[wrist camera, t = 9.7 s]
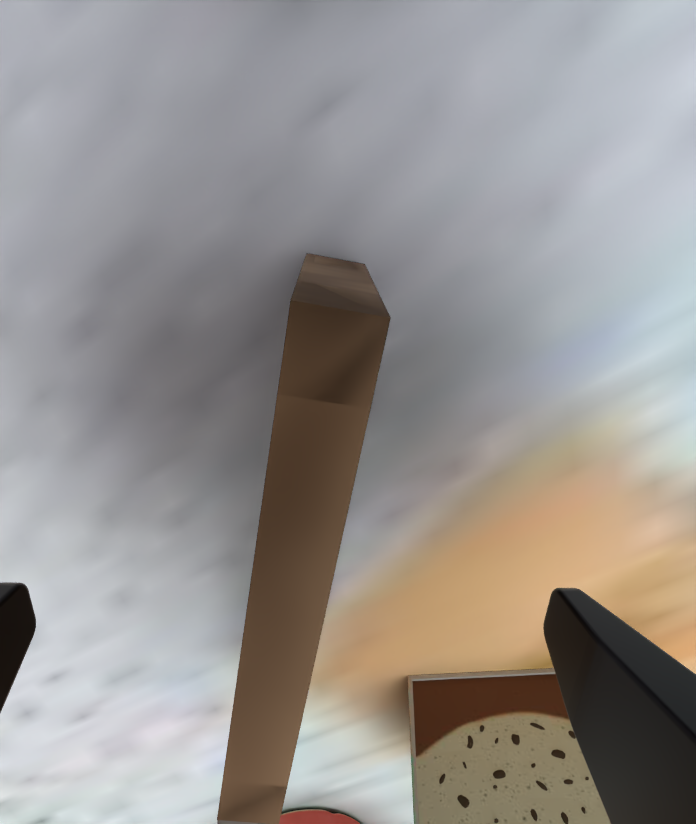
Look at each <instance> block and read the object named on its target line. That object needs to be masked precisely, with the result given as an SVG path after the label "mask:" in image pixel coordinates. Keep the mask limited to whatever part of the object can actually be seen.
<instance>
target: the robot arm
mask: <svg viewBox="0 0 696 824" xmlns="http://www.w3.org/2000/svg"><path fill="white" fill-rule="evenodd" d="M35 628H36V618H35V614H34V610H33V606H32V602H31V599H30V595H29V591H28V588H27V587H26V585H25V584H23V583H0V713H1V710H2V708H3V706H4V703H5V701H6V699H7V696H8V694H9V692H10V689H11V687H12V685H13V682H14V680H15V678H16V675H17V673H18V671H19V668H20V666H21V664H22V661H23V659H24V657H25V654H26V652H27V650H28V647H29V645H30V643H31V640H32V638H33V635H34V632H35ZM544 636H545V640H546V643H547V647H548V650H549V653H550V657H551V660H552V663H553V667H554V670H555V674H556V677H557V680H558V684H559V687H560V690H561V694H562V697H563V701H564V704H565V707H566V711H567V714H568V717H569V720H570V723H571V726H572V729H573V731H574V734H575V737H576V739H577V742H578V744H579V747H580V749H581V752H582V754H583V756H584V759H585V761H586V764H587V766H588V769H589V771H590V774H591V776H592V779H593V781H594V784H595V786H596V788H597V791H598V793H599V796H600V798H601V801H602V803H603V806H604V808H605V811H606V813H607V815H608V818H609V820H610V823H611V824H696V674H695V673H693V672H692V671H690V670H689V669H688V668H686V667H685V666H684V665H682V664H681V663H680V662H678V661H677V660H675V659H674V658H673V657H671V656H670V655H669V654H667V653H666V652H665V651H663V650H662V649H660V648H659V647H658V646H656V645H655V644H654V643H652V642H651V641H650V640H648V639H647V638H645V637H644V636H643V635H641V634H640V633H639V632H637V631H636V630H635V629H633V628H632V627H630V626H629V625H628V624H626V623H625V622H624V621H622V620H621V619H620V618H618V617H617V616H615V615H614V614H613V613H611V612H610V611H609V610H607V609H606V608H605V607H603V606H602V605H600V604H599V603H598V602H596V601H595V600H594V599H592V598H591V597H590V596H588V595H587V594H585V593H584V592H583V591H581V590H579V589H577V588H556V589H554V590H553V592H552V594H551V597H550V601H549V605H548V608H547V612H546V616H545V620H544Z"/></svg>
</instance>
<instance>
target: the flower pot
mask: <svg viewBox="0 0 696 824" xmlns="http://www.w3.org/2000/svg"><path fill="white" fill-rule="evenodd" d="M279 824H360V823H359V822H358V821H356V820H355V819H353V818H351V817H349V816H347V815H344V814H340V813H336V814H332V813H330V812H328V811H326V810H319V809H307V810H297V811H291V812H287V813H283V814H281V816H280V821H279Z"/></svg>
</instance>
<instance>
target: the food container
mask: <svg viewBox="0 0 696 824" xmlns="http://www.w3.org/2000/svg"><path fill="white" fill-rule="evenodd" d="M408 696H409V719H410V742H411V765H412V788H413V811H414V824H611V823H610V820H609V818H608V815H607V813H606V811H605V808H604V806H603V803H602V801H601V798H600V796H599V793H598V791H597V788H596V786H595V784H594V781H593V779H592V776H591V774H590V771H589V769H588V766H587V764H586V761H585V759H584V756H583V754H582V752H581V749H580V747H579V744H578V742H577V739H576V737H575V734H574V731H573V729H572V726H571V723H570V720H569V717H568V714H567V711H566V707H565V704H564V701H563V697H562V694H561V690H560V687H559V684H558V680H557V677H556V674H555V670H554V668H548V669H528V670H508V671H488V672H468V673H448V674H428V675H408Z"/></svg>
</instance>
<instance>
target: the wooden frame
mask: <svg viewBox="0 0 696 824" xmlns="http://www.w3.org/2000/svg"><path fill="white" fill-rule="evenodd" d="M389 322H390V316H389V314H388V312H387V310H386V308H385V305H384V303H383V301H382V299H381V297H380V295H379V293H378V291H377V289H376V287H375V285H374V283H373V281H372V278H371V276H370V274H369V272H368V270H367V268H366V266H365V264H361V263H356V262H350V261H345V260H340V259H335V258H329V257H324V256H319V255H313V254H308V253H307V254H306V257H305V260H304V263H303V266H302V268H301V271H300V274H299V277H298V280H297V283H296V286H295V289H294V292H293V295H292V298H291V301H290V308H289V315H288V322H287V329H286V336H285V343H284V351H283V358H282V365H281V372H280V379H279V386H278V393H277V400H276V407H275V414H274V421H273V428H272V435H271V442H270V449H269V457H268V464H267V471H266V478H265V485H264V492H263V499H262V506H261V513H260V520H259V527H258V534H257V541H256V548H255V555H254V563H253V570H252V577H251V584H250V591H249V598H248V605H247V612H246V619H245V626H244V633H243V640H242V647H241V654H240V661H239V669H238V676H237V683H236V690H235V697H234V704H233V711H232V718H231V725H230V732H229V739H228V746H227V753H226V760H225V767H224V775H223V782H222V789H221V796H220V803H219V810H218V817H217V820H223V821H237V822H251V823H265V824H279V821H280V816H281V812H282V807H283V803H284V798H285V794H286V789H287V785H288V780H289V776H290V771H291V767H292V762H293V757H294V753H295V748H296V744H297V739H298V735H299V730H300V726H301V721H302V717H303V712H304V708H305V703H306V699H307V694H308V690H309V685H310V680H311V676H312V671H313V667H314V662H315V658H316V653H317V649H318V644H319V640H320V635H321V631H322V626H323V622H324V617H325V612H326V608H327V603H328V599H329V594H330V590H331V585H332V581H333V576H334V572H335V567H336V563H337V558H338V554H339V549H340V544H341V540H342V535H343V531H344V526H345V522H346V517H347V513H348V508H349V504H350V499H351V495H352V490H353V486H354V481H355V476H356V472H357V467H358V463H359V458H360V454H361V449H362V445H363V440H364V436H365V431H366V427H367V422H368V418H369V413H370V408H371V404H372V399H373V395H374V390H375V386H376V381H377V377H378V372H379V368H380V363H381V359H382V354H383V350H384V345H385V340H386V336H387V331H388V327H389Z"/></svg>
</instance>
